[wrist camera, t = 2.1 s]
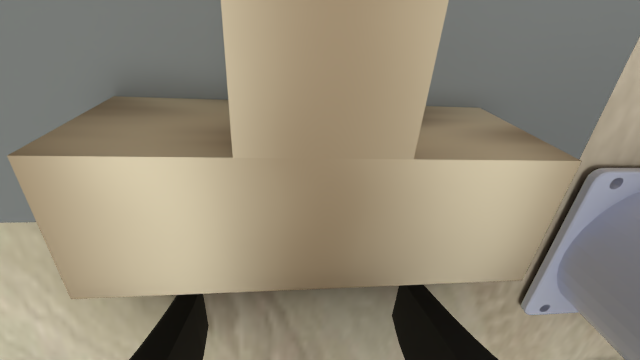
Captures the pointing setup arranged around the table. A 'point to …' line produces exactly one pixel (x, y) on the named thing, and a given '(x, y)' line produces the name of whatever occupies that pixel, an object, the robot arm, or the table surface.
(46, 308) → the table surface
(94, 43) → the mat
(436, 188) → the t block
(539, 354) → the table surface
